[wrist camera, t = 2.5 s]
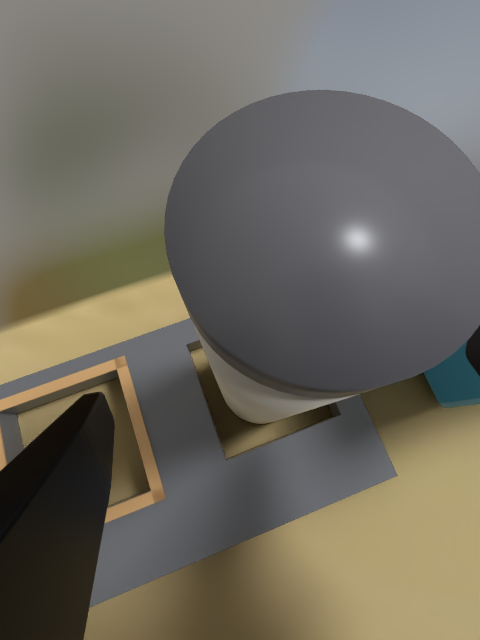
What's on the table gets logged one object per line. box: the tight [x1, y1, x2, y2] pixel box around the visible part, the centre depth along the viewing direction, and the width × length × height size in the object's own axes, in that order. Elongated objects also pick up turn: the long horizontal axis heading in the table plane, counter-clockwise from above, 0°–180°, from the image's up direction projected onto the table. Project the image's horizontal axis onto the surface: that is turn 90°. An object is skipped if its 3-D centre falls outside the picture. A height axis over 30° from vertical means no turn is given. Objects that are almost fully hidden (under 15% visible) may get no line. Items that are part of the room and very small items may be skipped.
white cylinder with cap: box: [164, 90, 480, 424], centre depth 12 cm, size 4×4×15 cm
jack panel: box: [0, 318, 398, 607], centre depth 17 cm, size 10×17×2 cm, turn 111°
